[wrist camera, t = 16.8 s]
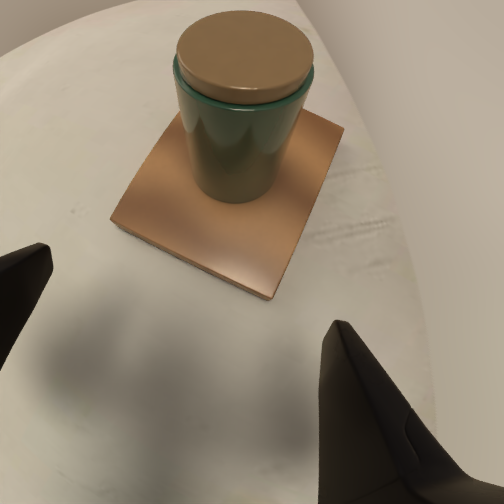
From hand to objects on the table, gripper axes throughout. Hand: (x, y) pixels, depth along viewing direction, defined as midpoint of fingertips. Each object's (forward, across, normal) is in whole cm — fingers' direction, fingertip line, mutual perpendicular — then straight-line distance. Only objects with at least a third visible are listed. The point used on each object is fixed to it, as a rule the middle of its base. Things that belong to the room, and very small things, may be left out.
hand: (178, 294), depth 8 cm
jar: (+11, 0, -1) cm, 11 cm away
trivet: (+12, 0, 0) cm, 12 cm away
